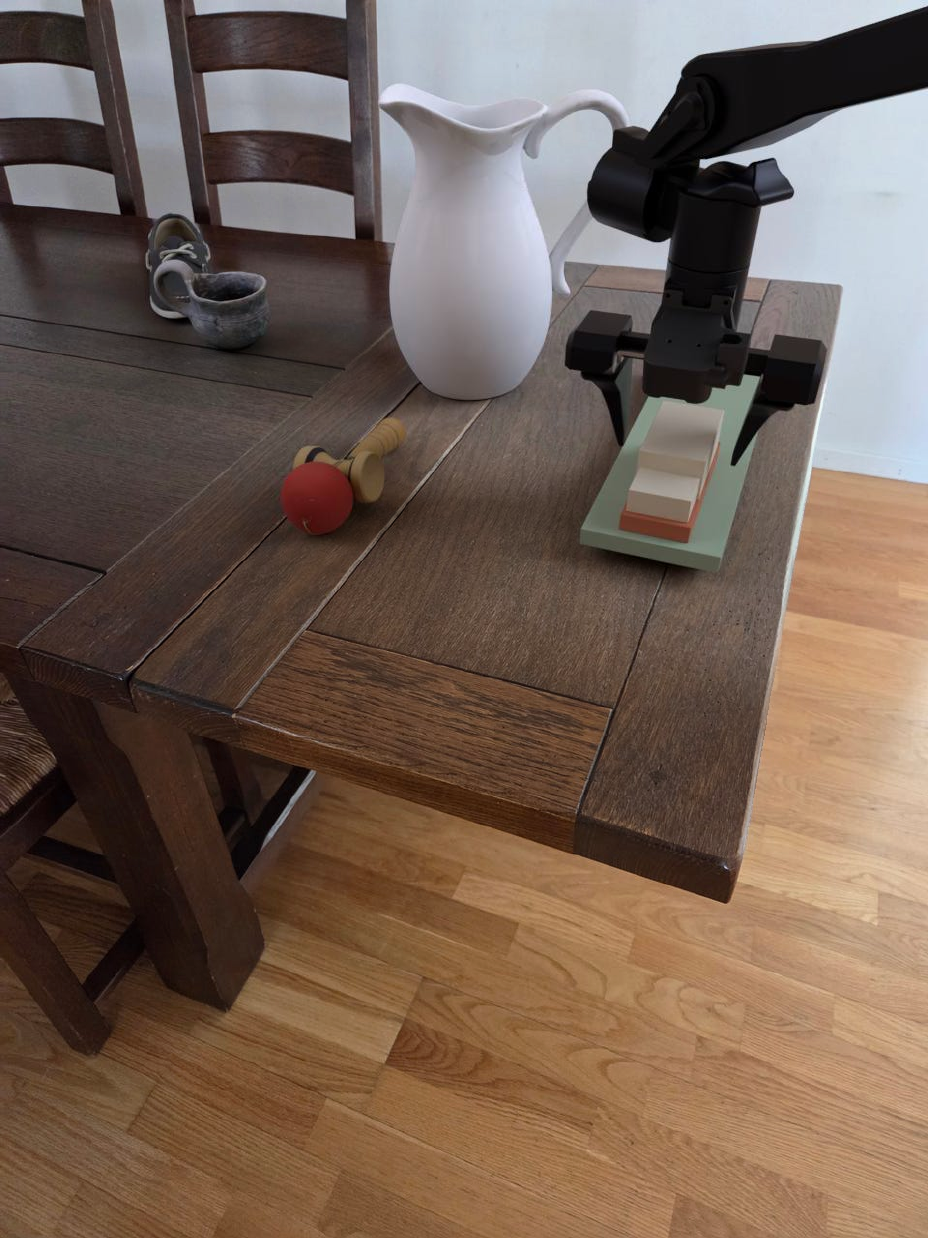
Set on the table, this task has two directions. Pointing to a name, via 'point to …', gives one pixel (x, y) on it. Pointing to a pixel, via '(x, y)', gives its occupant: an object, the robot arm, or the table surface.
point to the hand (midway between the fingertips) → (676, 453)
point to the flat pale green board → (715, 505)
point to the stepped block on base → (673, 471)
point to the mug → (219, 304)
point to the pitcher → (477, 239)
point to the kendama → (337, 480)
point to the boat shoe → (175, 258)
